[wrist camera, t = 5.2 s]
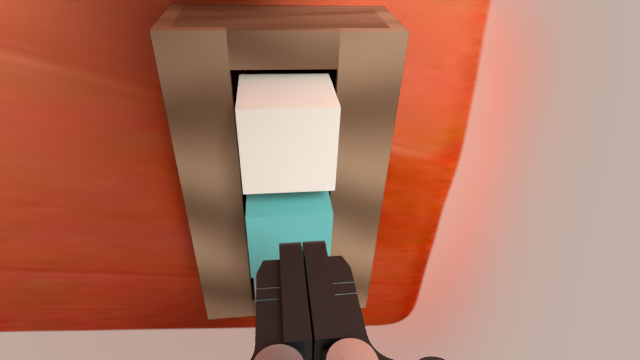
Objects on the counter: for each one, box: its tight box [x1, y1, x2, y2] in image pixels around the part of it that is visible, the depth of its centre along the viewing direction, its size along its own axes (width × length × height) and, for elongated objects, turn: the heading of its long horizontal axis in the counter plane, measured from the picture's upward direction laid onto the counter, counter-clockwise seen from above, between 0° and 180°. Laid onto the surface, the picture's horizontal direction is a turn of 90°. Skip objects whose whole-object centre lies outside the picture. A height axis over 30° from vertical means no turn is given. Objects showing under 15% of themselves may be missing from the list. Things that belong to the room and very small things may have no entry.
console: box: [149, 4, 409, 319], centre depth 27 cm, size 21×12×5 cm, turn 178°
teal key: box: [245, 191, 333, 278], centre depth 24 cm, size 4×4×4 cm
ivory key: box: [235, 73, 341, 194], centre depth 20 cm, size 4×4×4 cm
